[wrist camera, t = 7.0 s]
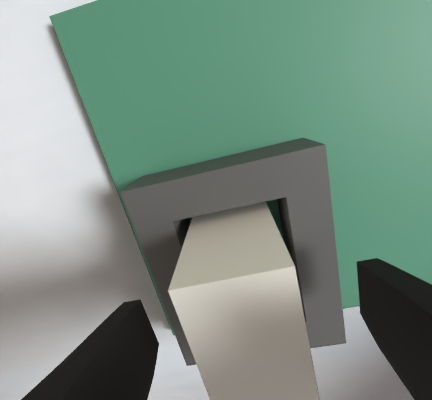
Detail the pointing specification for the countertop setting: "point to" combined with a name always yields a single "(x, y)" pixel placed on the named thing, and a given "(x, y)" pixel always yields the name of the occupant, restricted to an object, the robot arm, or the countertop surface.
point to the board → (266, 130)
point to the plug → (243, 308)
